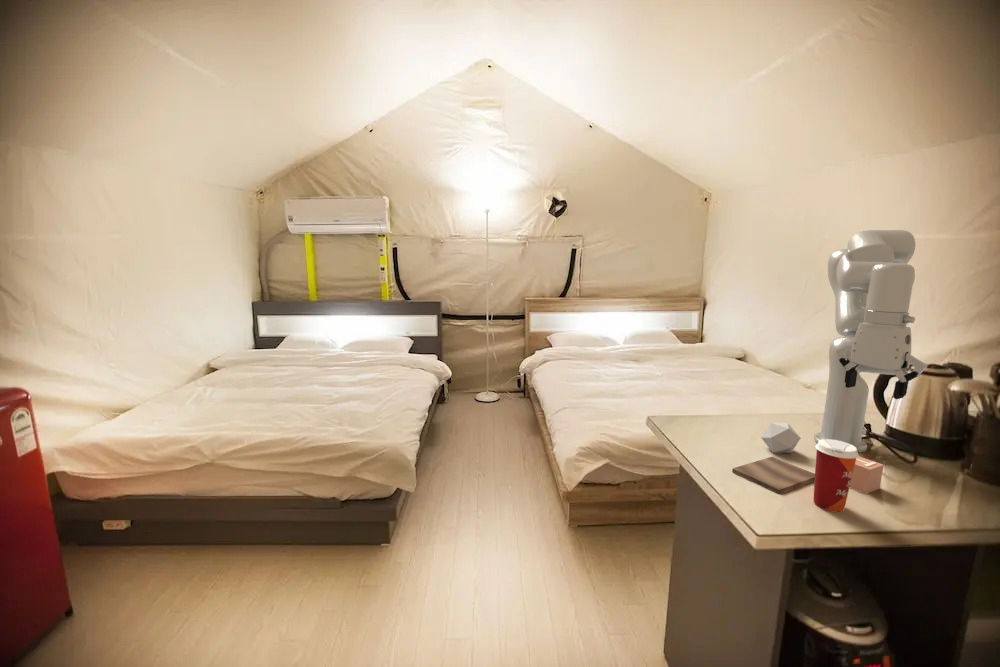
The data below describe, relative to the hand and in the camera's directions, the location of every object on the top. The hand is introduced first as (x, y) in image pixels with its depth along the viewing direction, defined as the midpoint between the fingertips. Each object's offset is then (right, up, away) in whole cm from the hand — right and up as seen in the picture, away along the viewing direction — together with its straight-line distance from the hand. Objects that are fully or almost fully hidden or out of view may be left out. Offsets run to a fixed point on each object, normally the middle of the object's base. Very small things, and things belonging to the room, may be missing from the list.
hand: (873, 392), depth 110 cm
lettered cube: (0, -23, +4) cm, 23 cm away
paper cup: (-14, -24, -5) cm, 29 cm away
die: (-8, -19, +23) cm, 31 cm away
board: (-18, -22, +8) cm, 29 cm away
